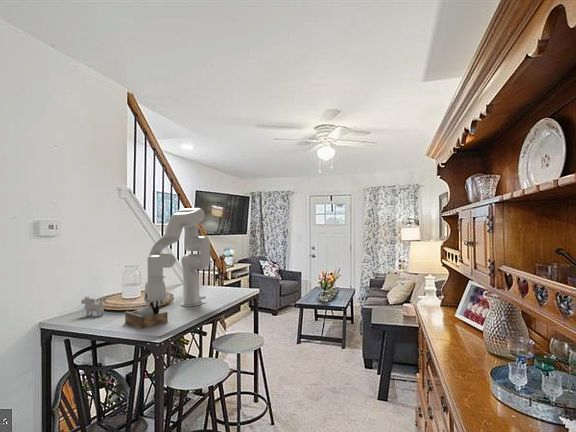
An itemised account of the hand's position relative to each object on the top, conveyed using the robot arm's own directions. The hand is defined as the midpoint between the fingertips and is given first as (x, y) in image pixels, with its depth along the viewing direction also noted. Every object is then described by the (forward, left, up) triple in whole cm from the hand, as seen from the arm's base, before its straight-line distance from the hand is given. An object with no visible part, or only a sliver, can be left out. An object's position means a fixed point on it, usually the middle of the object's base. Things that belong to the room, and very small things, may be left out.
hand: (155, 314), depth 176 cm
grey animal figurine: (+16, -39, -3) cm, 42 cm away
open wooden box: (+5, 0, -3) cm, 6 cm away
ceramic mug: (+6, +1, -3) cm, 7 cm away
